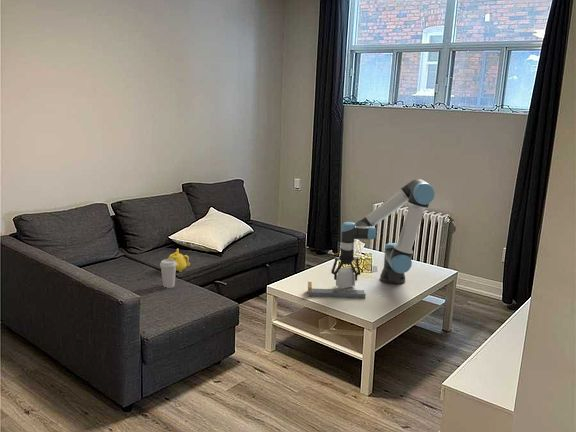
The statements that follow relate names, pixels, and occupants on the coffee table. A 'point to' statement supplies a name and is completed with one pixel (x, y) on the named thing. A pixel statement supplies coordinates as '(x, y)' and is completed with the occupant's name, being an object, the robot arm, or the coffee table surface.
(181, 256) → the teapot
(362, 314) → the coffee table surface
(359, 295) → the rail
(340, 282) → the photo printer
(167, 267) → the coffee cup
